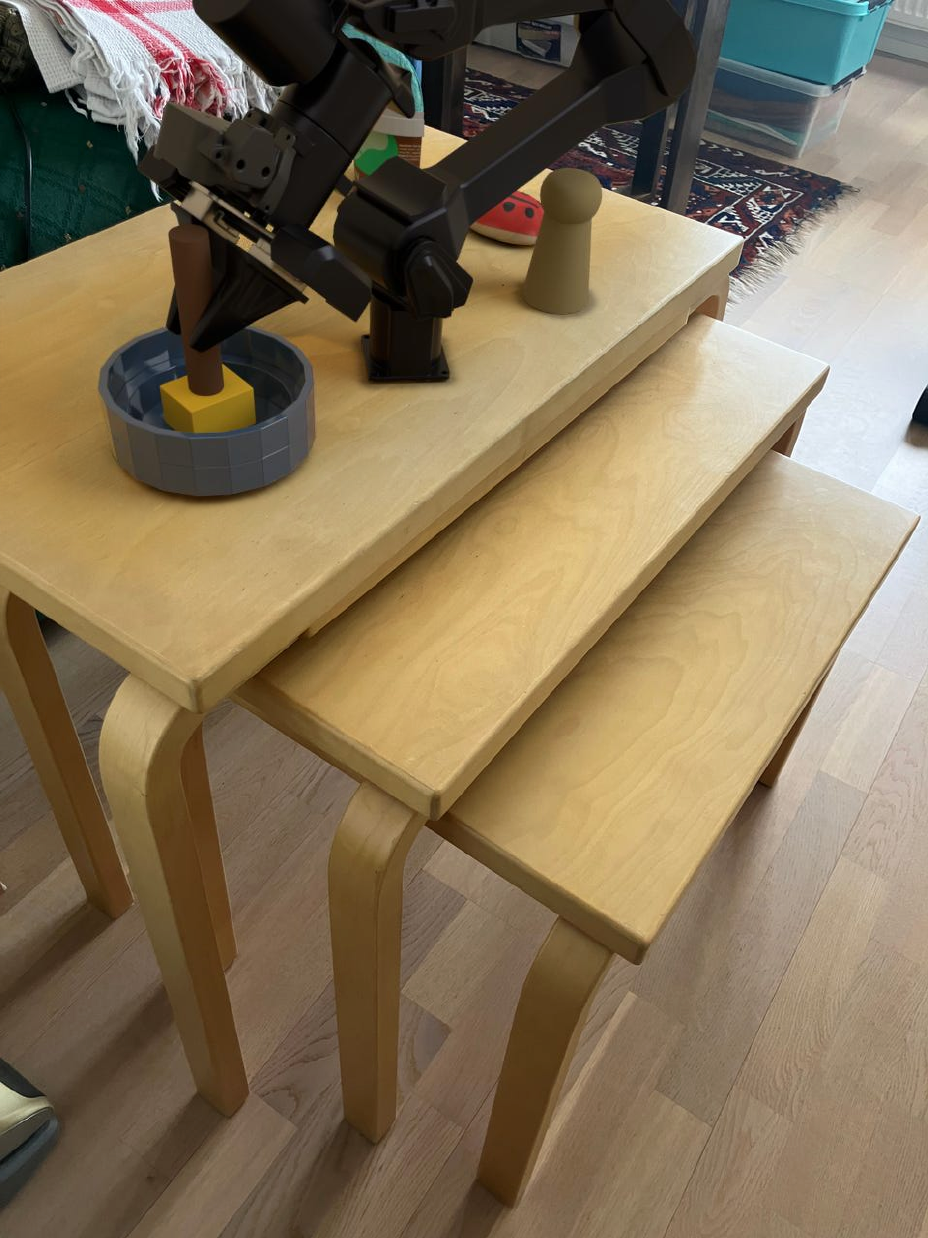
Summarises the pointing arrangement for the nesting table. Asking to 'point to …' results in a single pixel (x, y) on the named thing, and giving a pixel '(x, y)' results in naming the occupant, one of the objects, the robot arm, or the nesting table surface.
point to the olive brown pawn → (563, 242)
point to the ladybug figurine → (512, 220)
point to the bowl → (220, 455)
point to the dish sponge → (209, 386)
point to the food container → (390, 142)
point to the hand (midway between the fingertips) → (182, 340)
